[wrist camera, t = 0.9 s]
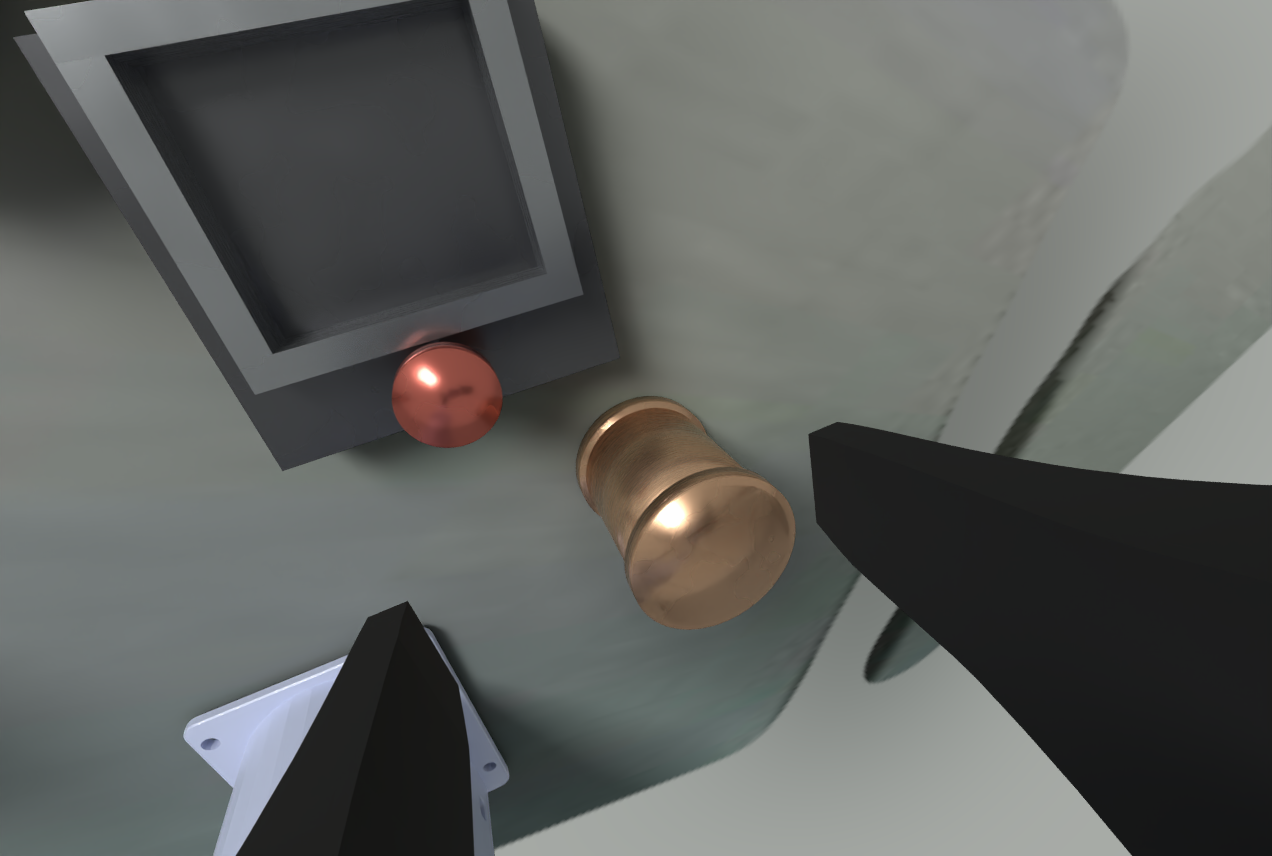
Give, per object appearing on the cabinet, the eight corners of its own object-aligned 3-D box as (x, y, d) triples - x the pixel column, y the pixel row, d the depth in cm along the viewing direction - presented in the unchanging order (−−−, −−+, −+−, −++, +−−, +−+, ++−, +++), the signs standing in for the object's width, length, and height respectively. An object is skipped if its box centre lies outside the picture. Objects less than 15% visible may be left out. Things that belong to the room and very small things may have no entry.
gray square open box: (596, 335, 18) (647, 383, 14) (301, 430, 16) (260, 518, 12) (505, -13, 13) (542, -93, 9) (87, 61, 12) (-88, 4, 8)
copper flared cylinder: (711, 489, 22) (800, 586, 17) (594, 536, 21) (652, 655, 16) (691, 377, 20) (788, 450, 14) (559, 424, 19) (612, 520, 13)
